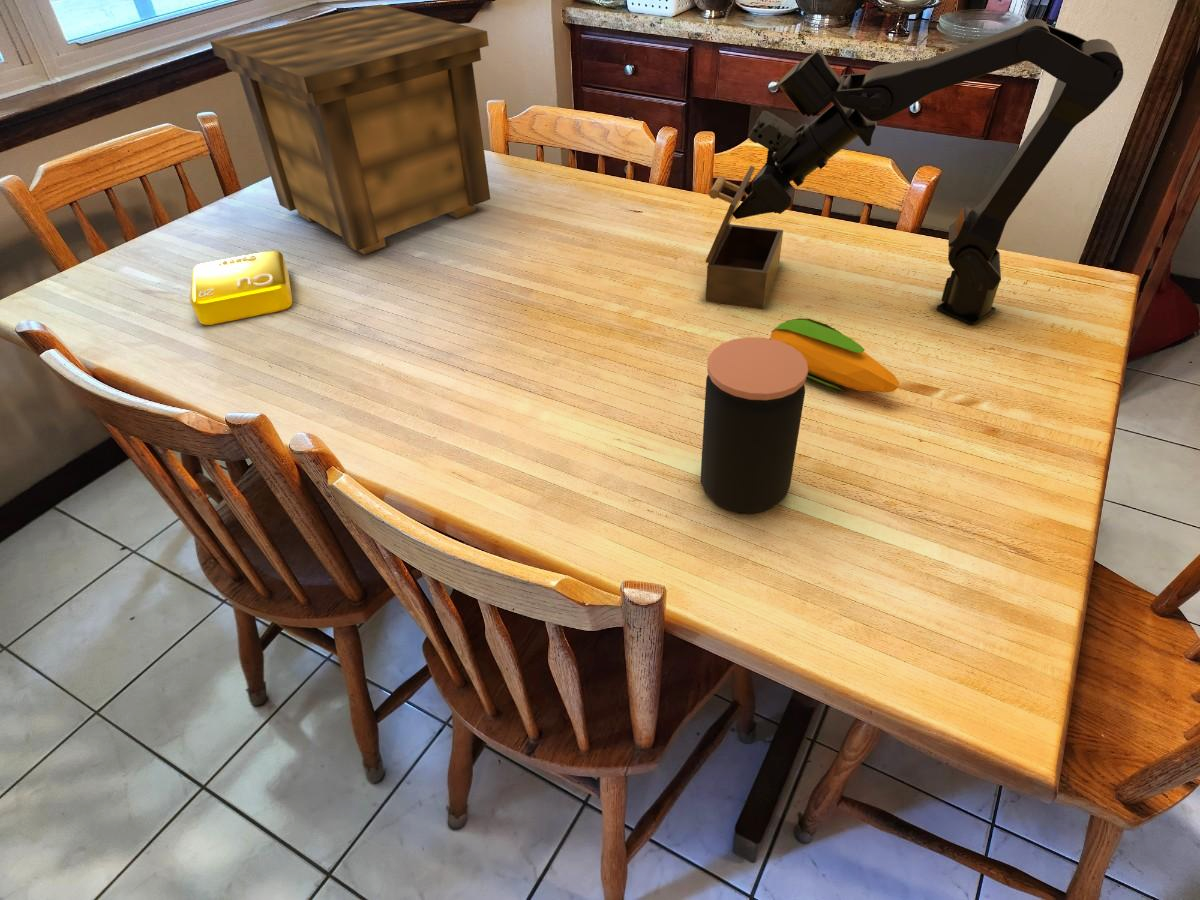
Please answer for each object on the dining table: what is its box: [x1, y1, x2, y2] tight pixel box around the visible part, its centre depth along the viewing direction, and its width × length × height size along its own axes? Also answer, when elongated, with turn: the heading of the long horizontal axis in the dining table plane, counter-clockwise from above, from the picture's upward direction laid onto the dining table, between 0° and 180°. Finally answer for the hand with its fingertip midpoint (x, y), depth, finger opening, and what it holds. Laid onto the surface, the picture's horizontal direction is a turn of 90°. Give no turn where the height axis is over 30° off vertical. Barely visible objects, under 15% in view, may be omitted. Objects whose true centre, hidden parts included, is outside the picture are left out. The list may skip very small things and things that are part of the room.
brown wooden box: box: [705, 223, 784, 310], centre depth 132 cm, size 9×16×6 cm, turn 161°
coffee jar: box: [699, 336, 809, 515], centre depth 90 cm, size 11×11×18 cm
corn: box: [769, 317, 900, 393], centre depth 110 cm, size 7×8×20 cm
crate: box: [209, 4, 491, 256], centre depth 150 cm, size 35×35×33 cm
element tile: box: [189, 250, 293, 326], centre depth 135 cm, size 15×15×5 cm
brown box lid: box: [704, 165, 756, 264], centre depth 127 cm, size 10×16×5 cm
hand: (740, 204), depth 125 cm, fingers open, 9 cm apart
